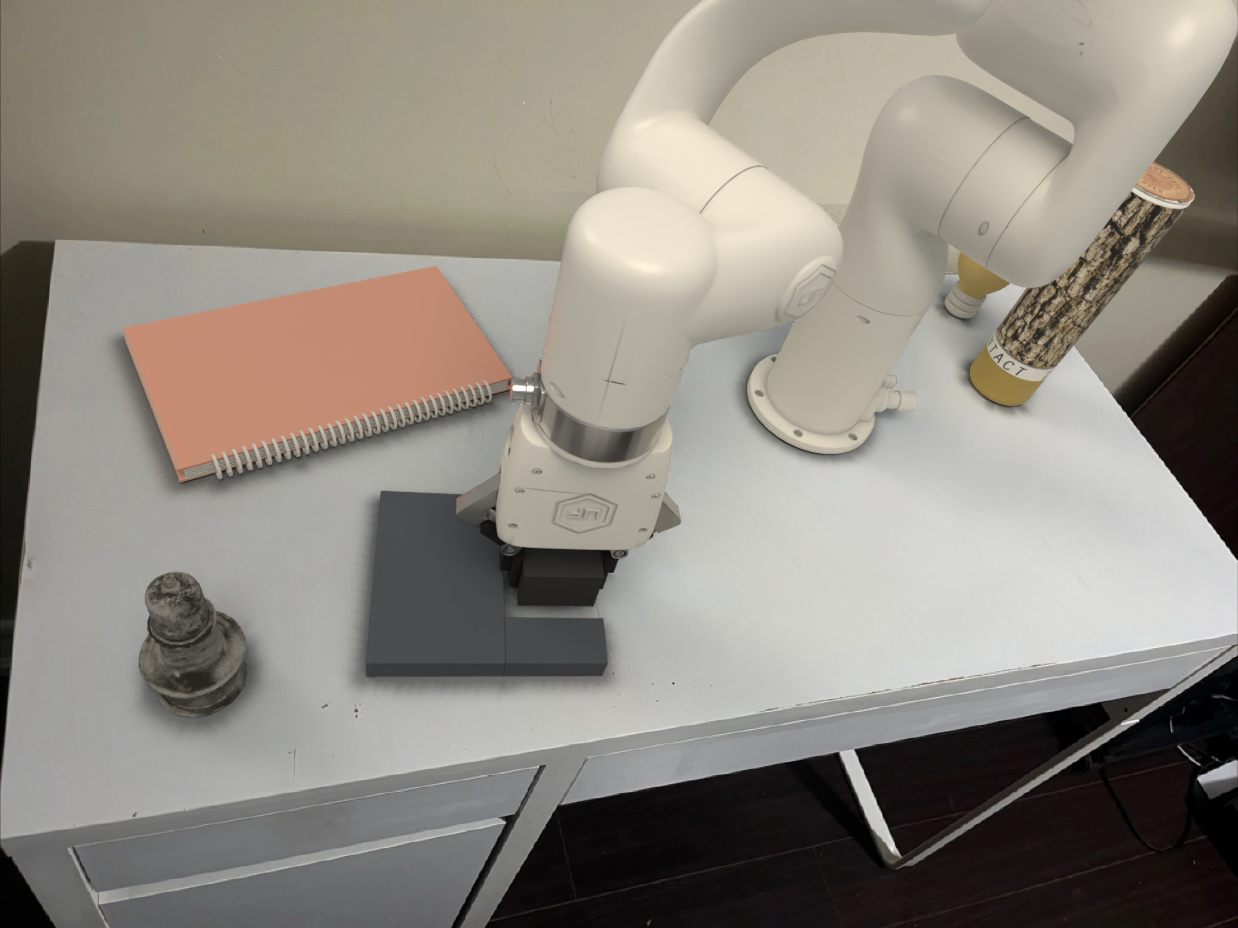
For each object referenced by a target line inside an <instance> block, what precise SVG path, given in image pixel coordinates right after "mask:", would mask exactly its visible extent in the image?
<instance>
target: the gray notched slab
mask: <svg viewBox="0 0 1238 928" xmlns="http://www.w3.org/2000/svg"><path fill="white" fill-rule="evenodd" d="M463 494H464V493H444V492H443V493H442V492H441V493H440V492H419V491H395V490H381V491H380V495H379V504H378V505H379V506H378V516H377V528H376V539H375V549H374V550H375V551H374V560H373V561H374V563H373V575H372V585H371V598H370V607H369V608H370V609H369V620H368V630H367V631H368V632H367V642H366V643H367V644H366V655H365V677H370V678H372V677H373V678H374V677H375V678H376V677H381V678H383V677H384V678H386V677H387V678H388V677H392V678H393V677H602V676H603V675H604V673H605V671H606V668H607V666H608V664H609V659H608V651H607V642H606V641H607V640H606V632H605V622H604V618H602V617H601V618H600V617H536V616H535V617H533V616H531V617H529V616H528V617H527V616H525V617H524V616H521V617H520V616H505V579H504V578H505V577H504V576H505V575H504V572H505V571H500V569H499V555H500V548H501V546H500V545H498V544H496V543H495V542H493V541H492V540H490V539H489V538H487V537H486V536H484V535H482V534H481V533H480V528H478V527H473V526H471V525H469V524H468V523H466V522H464V521H462V520H460V519H459V518H457V517H456V499H457V498H458V497H459V496H461V495H463ZM495 507H496V506H495Z"/></svg>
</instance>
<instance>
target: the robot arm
mask: <svg viewBox="0 0 1238 928" xmlns="http://www.w3.org/2000/svg"><path fill="white" fill-rule="evenodd" d="M1237 32H1238V12H1237V8H1236V5H1235V3H1234V2H1233V0H700V1H699V2H698V3H697V4H696V5H694V6H693V7H692V8H691V9H690V10H689V11H687V13H685V14H684V15H683V16H682V17H681V18H680V20H679V21H677V22H676V23H675V25H674V26H673V27H672V28H671V30H670V31H669V32H668V33H667V34H666V36H665V37H663V39H662V41H661V43H660V44H659V46H658V47H657V49H656V50H655V52H654V53H653V55H652V57H651V58H650V60H649V62H648V64H647V65H646V67H645V68H644V71H643V73H642V75H640V78H639V80H638V82H637V84H636V85H635V87H634V89H633V90H632V92H631V94H630V96H629V98H628V99H627V101H626V103H625V105H624V107H623V109H622V110H621V112H620V114H619V115H618V118H617V120H616V121H615V124H614V125H613V127H612V129H611V131H610V134H609V136H608V138H607V141H606V142H605V146H604V148H603V151H602V153H601V156H600V160H599V163H598V167H597V172H596V178H595V194H594V195H593V196H591V197H590V198H588V199H587V200H585V201H583V203H582V204H581V205H580V206H579V208H577V210H576V211H575V212H574V214H573V216H572V218H571V220H570V221H569V224H568V228H567V231H566V235H565V238H564V243H563V249H562V254H561V259H560V262H559V263H560V264H559V269H558V274H557V278H556V279H557V280H556V285H555V290H554V295H553V301H552V305H551V311H550V316H549V321H548V327H547V332H546V338H545V342H544V348H543V354H542V358H541V359H539V360H538V364H537V370H536V372H535V371H534V372H533V373H532V375H531V376H524V378H519V377H518V378H516V377H513V378H512V379H511V380H510V387H511V388H510V390H509V401H510V403H519V404H520V407H519V408H518V410H517V412H516V414H515V416H514V419H513V421H512V423H511V426H510V428H509V431H508V434H507V437H506V439H505V443H504V445H503V449H502V453H501V457H500V461H499V465H498V469H497V474H495V475H493V476H491V477H489V478H488V479H486V480H485V481H483V482H481V483H479V484H478V485H476V486H475V487H473V488H471V489H470V490H467V491H466V492H464V493H462V494H463V495H461V496H459V497H458V498H457V499H456V517H457V518H459V519H460V520H462V521H464V522H466V523H468V524H469V525H471V526H473V527H478V528H480V533H481V534H482V535H484V536H486V537H487V538H489V539H490V540H492V541H493V542H495V543H496V544H498V545H500V546H501V548H500V555H499V569H500V571H504V572H507V583H508V589H517V586H518V582H519V578H520V573H521V568H522V564H523V560H525V547H530V548H553V549H587V550H601V559H602V562H603V571H604V579H603V582H602V585H601V588H600V590H604V587H605V584H606V581H607V578H608V576H609V574H614V573H615V570H616V568H617V565H618V563H619V561H620V560H621V559H624V558H626V557H627V556H629V550H632V549H636V548H639V547H642V546H643V545H644V544H646V543H648V541H649V540H651V539H652V538H654V534H655V533H657V534H659V533H662V532H665V531H667V530H670V529H673V528H675V527H678V526H679V525H680V524H681V523H682V517H681V511H680V507H679V505H678V504H677V503H676V502H675V501H674V500H673V498H671V496H670V495H669V494H668V493H667V492H666V488H667V482H668V477H669V473H670V468H671V462H672V454H673V443H674V442H673V439H674V435H673V429H672V426H671V424H670V420H669V418H668V414H669V411H670V409H671V406H672V403H673V401H674V398H675V395H676V392H677V389H678V386H679V384H680V381H681V379H682V376H683V373H684V370H685V368H686V365H687V362H688V360H689V356H690V354H691V351H693V349H694V348H695V347H696V346H698V345H702V344H705V343H710V342H714V341H718V340H719V341H720V340H724V339H729V338H733V337H738V336H744V335H749V334H754V333H758V332H763V331H766V330H769V329H772V328H775V327H779V326H780V325H783V324H785V323H789V322H793V323H792V324H791V328H790V329H789V331H788V333H787V336H786V338H785V340H784V341H783V344H782V345H781V348H780V350H779V352H778V353H774V354H771V355H768V356H766V357H765V358H763V359H761V360H760V361H758V363H757V364H756V365H754V367H753V369H752V371H751V374H750V375H749V378H748V381H747V384H746V385H747V386H746V393H747V394H746V395H747V399H748V402H749V405H750V408H751V409H752V412H753V413H754V414H755V416H756V417H757V419H758V421H760V423H761V424H763V426H764V427H765V429H767V430H769V431H770V432H771V433H772V434H774V436H776V437H777V438H779V439H780V440H782V441H784V442H786V443H787V444H789V445H791V446H794V447H796V448H798V449H800V450H803V451H808V452H811V453H815V454H823V455H839V454H844V453H848V452H851V451H853V450H856V449H857V448H860V447H861V445H863V444H864V443H865V441H867V439H868V438H869V436H870V434H871V433H872V432H873V429H874V427H875V422H876V413H883V412H884V411H886V409H891V410H893V411H901V412H913V411H915V409H916V408H917V405H918V401H919V400H918V395H917V393H916V392H915V391H914V390H913V391H911V390H900V389H898V390H897V389H896V390H890V389H895V388H896V385H897V376H896V375H895V374H889V373H890V371H891V370H892V368H893V366H894V365H895V363H896V362H897V360H898V358H899V357H900V355H901V353H902V352H903V351H904V349H905V347H906V346H907V344H908V343H909V341H910V340H911V337H912V336H913V334H914V333H915V332H916V330H917V328H918V326H919V325H920V323H921V322H922V321H923V319H924V317H925V316H926V314H927V312H928V311H929V309H930V307H931V305H932V304H933V302H934V301H935V299H936V298H937V296H938V294H939V293H940V291H941V289H942V286H943V284H944V281H945V279H946V274H947V270H948V264H949V245H950V246H952V247H953V248H955V249H956V250H958V251H959V252H960V253H961V252H962V253H964V254H965V255H967V256H968V257H970V258H971V259H972V260H974V261H975V262H977V263H978V264H980V265H981V266H983V267H984V268H986V269H988V270H989V271H991V272H992V273H994V274H996V275H997V276H999V277H1000V278H1002V279H1004V280H1006V281H1007V282H1009V283H1010V284H1012V285H1014V286H1017V287H1020V288H1025V289H1026V288H1037V287H1042V286H1044V285H1047V284H1049V283H1051V282H1053V281H1054V280H1056V279H1057V278H1059V277H1060V276H1061V275H1063V274H1064V273H1065V272H1066V271H1067V270H1068V269H1069V268H1070V267H1071V266H1072V265H1073V264H1074V263H1075V262H1076V261H1077V260H1078V259H1079V258H1080V256H1081V255H1082V254H1083V253H1084V252H1085V251H1086V249H1087V248H1088V247H1089V246H1090V244H1091V243H1092V242H1093V241H1094V239H1095V238H1096V237H1097V236H1098V234H1099V233H1100V232H1101V231H1102V229H1103V228H1104V227H1105V225H1106V224H1107V223H1108V221H1109V220H1110V219H1111V217H1112V216H1113V215H1114V213H1115V212H1116V211H1117V209H1118V208H1119V207H1120V205H1121V204H1122V203H1123V201H1124V200H1125V199H1126V197H1127V196H1128V195H1129V193H1130V192H1131V191H1132V189H1133V188H1134V187H1135V185H1136V184H1137V183H1138V182H1139V180H1140V179H1141V178H1142V176H1143V175H1144V174H1145V172H1146V171H1147V170H1148V168H1149V167H1150V166H1151V164H1152V163H1153V162H1154V163H1155V161H1156V159H1157V158H1158V156H1159V155H1160V154H1161V153H1162V151H1163V150H1164V149H1165V148H1166V146H1167V145H1168V144H1169V142H1170V141H1171V139H1172V138H1174V136H1175V134H1176V133H1177V132H1178V130H1179V129H1180V128H1181V127H1182V125H1183V124H1184V122H1186V120H1187V119H1188V117H1189V116H1190V115H1191V114H1192V112H1193V111H1194V110H1195V107H1196V106H1197V105H1198V104H1199V102H1200V101H1201V100H1202V98H1203V96H1204V95H1205V93H1206V92H1207V90H1208V89H1209V87H1210V86H1211V85H1212V83H1213V82H1214V80H1215V79H1216V78H1217V76H1218V74H1219V72H1220V71H1221V68H1222V67H1223V65H1224V63H1225V61H1226V59H1227V58H1228V56H1229V54H1230V52H1231V49H1232V46H1233V44H1234V42H1235V38H1236V37H1237V36H1236V35H1237ZM851 33H852V34H853V33H877V34H878V33H880V34H882V33H883V34H894V35H895V34H896V35H897V34H898V35H909V36H926V37H927V36H929V37H940V36H948V35H954V34H955V37H956V38H955V39H956V43H957V45H958V46H959V49H960V51H961V52H962V53H963V54H964V55H965V57H966V58H968V59H969V60H970V61H971V62H972V63H973V64H974V65H976V66H977V67H978V68H979V69H981V70H983V71H985V72H986V73H987V74H988V75H990V76H992V77H993V78H995V79H997V80H998V81H1000V82H1002V83H1004V84H1005V85H1007V86H1008V87H1010V88H1012V89H1014V90H1015V91H1017V92H1018V93H1020V94H1022V95H1024V96H1025V97H1028V98H1029V99H1031V100H1032V101H1034V102H1036V103H1037V104H1039V105H1041V106H1042V107H1044V108H1046V109H1047V110H1049V111H1051V112H1052V113H1055V114H1056V115H1058V116H1060V117H1061V118H1064V119H1065V120H1067V121H1068V122H1070V124H1071V125H1072V127H1073V132H1074V133H1073V134H1074V135H1073V136H1074V137H1073V141H1072V142H1071V141H1069V140H1067V139H1066V138H1064V137H1062V136H1061V135H1058V134H1057V133H1055V132H1054V131H1052V130H1050V129H1048V128H1047V127H1045V126H1043V124H1040V123H1038V122H1037V121H1035V120H1033V119H1032V118H1031V117H1030V116H1029V115H1027V114H1025V113H1023V112H1022V111H1020V110H1018V109H1017V108H1015V107H1013V106H1011V105H1010V104H1008V103H1006V102H1005V101H1004V100H1001V99H1000V98H998V97H996V96H995V95H993V94H991V93H989V92H987V91H986V90H984V89H982V88H980V87H979V86H977V85H974V84H972V83H970V82H968V81H965V80H962V79H958V78H957V77H953V76H949V75H940V74H939V75H938V74H930V75H925V76H924V75H923V76H921V77H918V78H915V79H911V81H909V82H907V83H905V84H903V85H902V86H901V87H900V88H898V89H897V90H896V91H895V92H894V93H893V94H892V95H891V96H890V97H889V99H888V100H887V101H886V102H885V103H884V105H883V107H881V110H880V111H879V113H878V115H877V117H876V119H875V121H874V123H873V126H872V127H871V130H870V132H869V135H868V138H867V142H866V145H865V148H864V152H863V155H862V159H861V164H860V167H859V170H858V171H859V172H858V176H857V179H856V182H855V185H854V189H853V192H852V195H851V198H850V200H849V203H848V206H847V208H846V211H845V213H844V215H843V218H842V220H841V222H840V224H839V227H838V224H837V223H836V222H835V220H834V219H833V217H832V216H830V215H829V214H828V212H827V211H826V210H825V209H824V208H823V207H821V206H820V205H819V204H818V203H817V202H816V201H814V200H813V199H812V198H810V197H809V196H807V195H806V194H805V193H803V192H802V191H801V190H799V189H797V188H796V187H795V186H794V185H792V184H790V183H789V182H788V181H786V180H784V179H783V178H782V177H780V176H779V175H778V174H776V173H775V172H773V171H772V170H771V169H770V168H769V167H768V166H766V165H764V164H763V163H762V162H760V161H759V160H757V159H756V158H755V157H753V156H752V155H750V154H749V153H748V152H746V151H745V150H743V149H742V148H740V147H739V146H737V145H736V144H735V143H734V142H732V141H730V140H729V139H727V138H726V137H724V136H723V135H722V134H721V133H719V132H717V131H716V130H715V129H713V127H711V126H710V123H711V121H712V119H713V118H714V117H715V115H716V113H717V111H718V109H719V108H720V106H721V105H722V103H723V102H724V100H725V98H726V97H728V94H729V93H730V92H731V91H732V89H733V88H734V86H735V85H736V84H737V83H738V82H739V81H740V80H741V79H742V78H743V77H744V75H746V74H747V73H748V72H749V70H751V69H752V68H753V67H755V66H756V65H757V64H758V63H760V62H761V61H763V59H765V58H767V57H768V56H770V55H772V54H773V53H776V52H777V51H779V50H781V49H782V48H785V47H788V46H790V45H793V44H797V43H798V42H801V41H804V40H808V39H813V38H816V37H822V36H829V35H837V34H838V35H839V34H851ZM495 506H496V507H495Z"/></svg>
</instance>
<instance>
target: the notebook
mask: <svg viewBox="0 0 1238 928" xmlns="http://www.w3.org/2000/svg"><path fill="white" fill-rule="evenodd" d="M121 332H122V334H123V337H124V342H125V344H126V347H127V349H128V352H129V355H130V358H131V360H132V362H133V365H134V367H135V370H136V372H137V375H138V378H139V380H140V383H141V386H142V388H143V390H144V393H145V396H146V398H147V401H148V404H149V406H150V409H151V411H152V413H153V416H154V417H153V418H155V422H156V424H157V427H158V429H159V432H160V434H161V437H162V440H163V442H164V444H165V447H166V450H167V453H168V455H169V457H170V460H171V463H172V465H173V468H174V471H175V473H176V475H177V478H178V481H179V483H184V482H189V481H191V480H194V479H198V478H201V477H205V476H209V475H212V474H215V475H216V478H217V479H218V480H222V479H223V473H222V471H226V474H227V475H228V477H233V475H234V474H233V473H234V472H233V468H236V470H237V473H238V474H239V475H240V474H243V473H244V468H243V465H245V466H246V469H247V470H248V471H249V472H250V471H253V470H254V466H253V463H254V462H255V464H256V467H257V468H258V469H261V468H263V466H264V465H263V460H265V463H266V464H267V465H268V466H271V465H272V464H273V457H274V460H275V461H276V462H277V463H281V462H282V461H283V460H282V455H283V456H284V458H285V460H287V461H289V460H291V459H292V453H291V452H293V455H294V456H295V457H296V458H300V457H301V449H302V452H303V453H304V454H305V455H309V454H310V453H311V452H310V447H311V449H312V451H313V452H314V453H317V452H318V451H320V447H321V449H323V450H327V449H328V448H329V444H330V446H331V447H332V448H334V447H336V446H337V445H338V442H339V444H341V445H345V444H346V442H347V440H348V441H349V443H352V442H354V441H355V439H356V438H357V439H358V440H361V439H362V440H363V438H364V435H365V436H366V437H367V438H369V437H371V436H372V435H373V434H375V435H380V433H381V431H382V432H384V433H386V432H388V431H389V429H391V430H392V431H394V430H397V428H398V426H399V427H400V428H404V427H405V426H406V424H407V425H408V426H410V425H411V426H412V425H413V424H414V422H416V423H421V422H422V420H424V421H428V420H430V418H433V419H436V418H437V417H438V415H439V416H441V417H444V416H445V415H446V413H448V414H452V413H453V412H454V411H455V412H460V411H461V410H462V409H464V410H467V409H468V408H469V406H470V407H472V408H474V407H476V406H477V404H478V405H480V406H482V405H483V404H484V403H491V401H492V399H493V395H496V394H499V393H502V392H506V391H510V388H511V384H509V381H511V380H512V378H514V377H513V375H512V374H511V373H510V371H509V370H508V368H507V366H506V365H505V364H504V362H503V360H502V359H501V358H500V356H499V355H498V354H497V352H496V350H495V349H494V348H493V347H492V344H491V343H490V341H488V339H487V337H486V336H485V335H484V333H483V332H482V330H481V329H480V327H479V325H478V324H477V323H476V322H475V320H474V318H473V317H472V316H471V314H470V313H469V311H468V309H466V306H465V305H464V304H463V303H462V300H460V298H459V296H458V295H457V294H456V292H455V290H454V289H453V288H452V286H451V285H450V284H449V282H448V280H447V279H446V278H445V276H444V275H443V273H442V272H441V270H440V269H439V267H438V266H437V265H433V266H429V267H427V266H426V267H423V268H418V269H413V270H407V271H402V272H398V273H393V274H387V275H383V276H377V277H372V278H366V279H361V280H356V281H352V282H347V283H340V284H336V285H331V286H326V287H321V288H316V289H311V290H305V291H301V292H296V293H291V294H286V295H280V296H275V297H270V298H266V299H265V298H264V299H261V300H260V299H259V300H254V301H250V302H245V303H240V304H235V305H229V306H225V307H220V308H215V309H208V310H203V311H198V312H194V313H189V314H183V315H179V316H174V317H168V318H164V319H159V320H153V321H148V322H143V323H138V324H133V325H128V326H123V327H121ZM487 397H488V399H487ZM479 399H480V400H479ZM472 401H473V403H472ZM464 403H465V405H464ZM456 405H458V407H457V406H456ZM449 408H450V409H449ZM441 410H442V411H441ZM425 414H426V415H425ZM417 416H418V417H417ZM409 419H410V420H409ZM401 421H402V422H401ZM355 436H356V438H355ZM346 438H347V439H346ZM337 440H338V441H337ZM328 443H329V444H328ZM319 444H320V447H319Z"/></svg>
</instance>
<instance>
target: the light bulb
mask: <svg viewBox="0 0 1238 928" xmlns="http://www.w3.org/2000/svg"><path fill="white" fill-rule="evenodd" d="M957 274H958V280H957V281H955V283H954V284H953V287H952V288H951V289H950V291H949V293H948V294H947V296H946V297H945V299H944V305H945V307H946V310H947V311H948V312H949V313H950V314H951V315H952V316H954V317H956V318H959V319H971V318H973V317H974V316H976V314H977V312H978V310H979V309H981V307H982V306H983V304H984V303H985V301H986V299H987V295H991V294H993V293H997V292H999V291H1001V290H1003V289H1005V288H1006V287H1009V285H1010V284H1011V283H1009V282H1007V281H1006V280H1004V279H1002V278H1000V277H999V276H997V275H996V274H994V273H992V272H991V271H989V270H988V269H986V268H984V267H983V266H981V265H980V264H978V263H977V262H975V261H974V260H972V259H971V258H970V257H968V256H967V255H965V254H964V253H962V252H961V251H960V252H959V254H958V258H957Z"/></svg>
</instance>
